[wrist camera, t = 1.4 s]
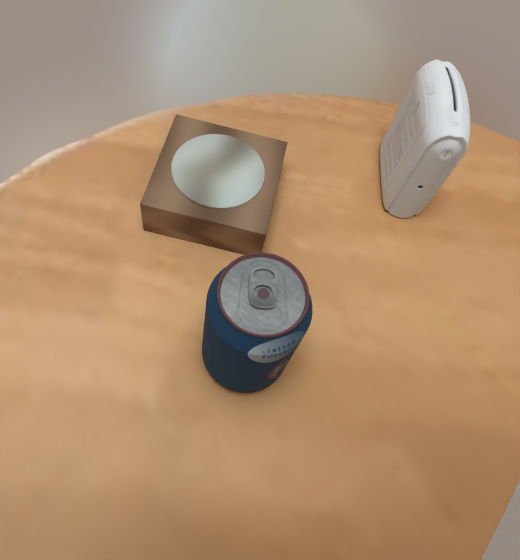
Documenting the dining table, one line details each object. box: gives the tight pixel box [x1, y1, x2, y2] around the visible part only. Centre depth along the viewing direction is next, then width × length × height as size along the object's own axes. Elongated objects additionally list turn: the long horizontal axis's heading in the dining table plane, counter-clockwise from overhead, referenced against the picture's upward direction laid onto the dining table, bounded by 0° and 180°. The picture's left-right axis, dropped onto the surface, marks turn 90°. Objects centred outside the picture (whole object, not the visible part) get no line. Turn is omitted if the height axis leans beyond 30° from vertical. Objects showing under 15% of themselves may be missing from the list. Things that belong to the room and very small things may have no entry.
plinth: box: [140, 115, 287, 255], centre depth 45 cm, size 11×11×4 cm
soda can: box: [202, 253, 312, 392], centre depth 35 cm, size 7×7×12 cm
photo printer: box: [380, 60, 470, 218], centre depth 46 cm, size 10×4×12 cm, turn 176°
